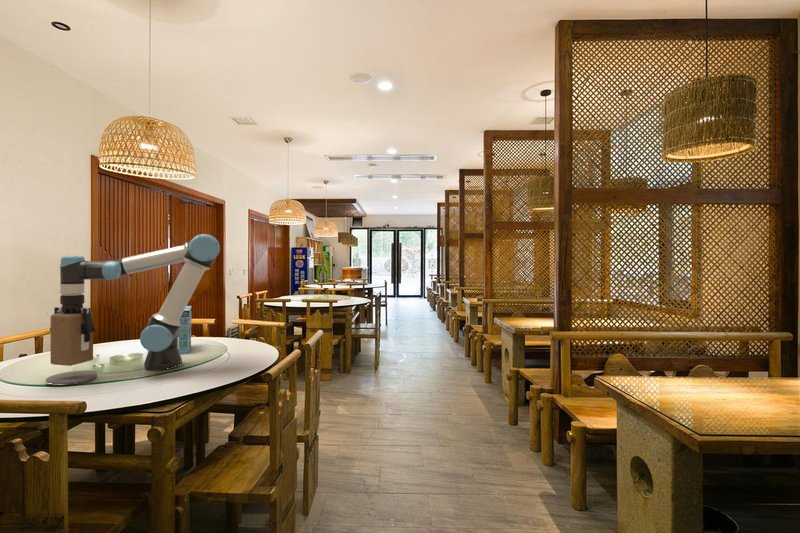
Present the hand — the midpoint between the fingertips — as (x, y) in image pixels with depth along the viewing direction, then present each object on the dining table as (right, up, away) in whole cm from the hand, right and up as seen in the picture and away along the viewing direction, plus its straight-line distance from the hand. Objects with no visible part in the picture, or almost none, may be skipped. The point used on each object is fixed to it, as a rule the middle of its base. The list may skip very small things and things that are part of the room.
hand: (72, 349), depth 160 cm
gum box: (+16, -12, +55) cm, 58 cm away
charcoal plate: (0, -13, 0) cm, 13 cm away
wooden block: (0, -6, 0) cm, 6 cm away
